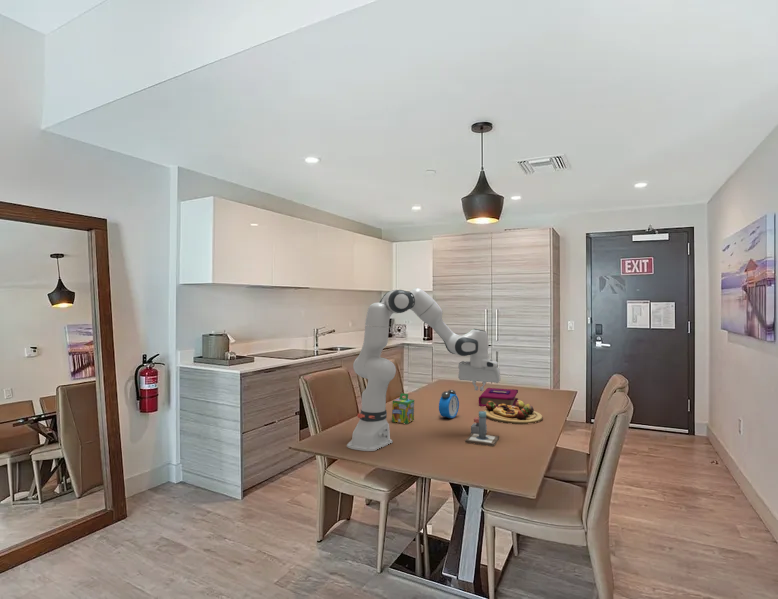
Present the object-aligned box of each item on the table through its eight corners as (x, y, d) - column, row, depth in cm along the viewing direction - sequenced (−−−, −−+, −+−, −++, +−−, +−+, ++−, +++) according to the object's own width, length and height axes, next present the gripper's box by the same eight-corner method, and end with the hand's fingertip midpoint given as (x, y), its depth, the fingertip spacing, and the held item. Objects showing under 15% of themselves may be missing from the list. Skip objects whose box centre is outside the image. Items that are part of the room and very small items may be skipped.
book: (478, 406, 286) (478, 394, 286) (485, 397, 312) (485, 386, 312) (513, 409, 278) (513, 397, 278) (518, 400, 304) (518, 388, 304)
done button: (482, 427, 225) (482, 419, 225) (473, 426, 226) (473, 418, 226) (483, 425, 228) (483, 417, 228) (475, 424, 230) (475, 417, 230)
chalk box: (391, 422, 247) (391, 394, 247) (399, 418, 255) (399, 391, 255) (407, 424, 243) (407, 396, 243) (414, 420, 251) (414, 393, 251)
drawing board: (493, 446, 207) (493, 443, 207) (465, 442, 213) (465, 439, 213) (499, 438, 219) (499, 435, 219) (471, 435, 225) (471, 432, 225)
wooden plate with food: (472, 416, 261) (472, 402, 261) (502, 407, 283) (503, 393, 283) (523, 429, 238) (523, 413, 238) (552, 418, 260) (553, 403, 260)
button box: (483, 436, 223) (484, 427, 223) (470, 434, 226) (470, 426, 226) (486, 432, 229) (486, 424, 229) (473, 431, 231) (473, 423, 231)
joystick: (485, 439, 214) (485, 413, 214) (477, 438, 215) (478, 412, 215) (486, 437, 217) (486, 411, 217) (479, 436, 218) (479, 410, 218)
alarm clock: (447, 421, 250) (448, 393, 250) (438, 419, 254) (438, 391, 254) (459, 416, 261) (459, 389, 261) (449, 414, 265) (449, 388, 265)
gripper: (456, 361, 228) (456, 389, 228) (498, 364, 220) (498, 393, 220) (460, 360, 234) (460, 387, 234) (501, 362, 226) (501, 390, 226)
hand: (479, 390), depth 227 cm, fingers closed
